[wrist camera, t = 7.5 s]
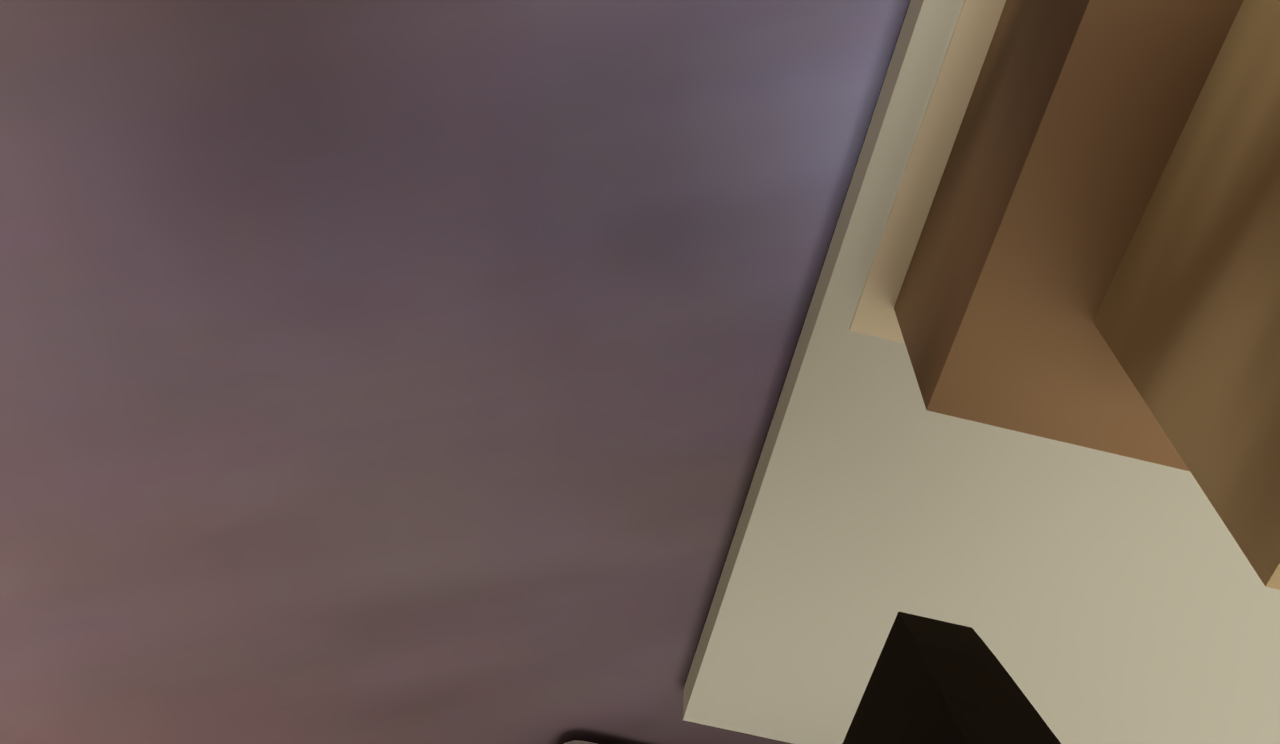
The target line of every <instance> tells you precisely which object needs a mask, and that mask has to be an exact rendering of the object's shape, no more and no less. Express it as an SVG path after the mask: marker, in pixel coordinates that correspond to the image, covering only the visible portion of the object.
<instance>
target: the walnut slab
mask: <svg viewBox="0 0 1280 744" xmlns="http://www.w3.org/2000/svg"><path fill="white" fill-rule="evenodd" d="M1243 1H1244V0H1006V3H1005V5H1004V8H1003V11H1002V14H1001V16H1000V19H999V22H998V25H997V27H996V30H995V33H994V35H993V38H992V41H991V44H990V46H989V49H988V52H987V55H986V57H985V60H984V63H983V66H982V68H981V71H980V74H979V76H978V79H977V82H976V85H975V87H974V90H973V93H972V96H971V98H970V101H969V104H968V106H967V109H966V112H965V115H964V117H963V120H962V123H961V126H960V128H959V131H958V134H957V137H956V139H955V142H954V145H953V147H952V150H951V153H950V156H949V158H948V161H947V164H946V167H945V169H944V172H943V175H942V178H941V180H940V183H939V186H938V188H937V191H936V194H935V197H934V199H933V202H932V205H931V208H930V210H929V213H928V216H927V218H926V221H925V224H924V227H923V229H922V232H921V235H920V238H919V240H918V243H917V246H916V249H915V251H914V254H913V257H912V259H911V262H910V265H909V268H908V270H907V273H906V276H905V279H904V281H903V284H902V287H901V290H900V292H899V295H898V298H897V300H896V303H895V306H894V311H895V314H896V317H897V320H898V323H899V326H900V329H901V332H902V336H903V339H904V342H905V345H906V348H907V351H908V354H909V357H910V360H911V364H912V367H913V370H914V373H915V376H916V379H917V382H918V385H919V388H920V392H921V395H922V398H923V401H924V404H925V407H926V410H927V411H932V412H936V413H940V414H945V415H949V416H953V417H958V418H962V419H966V420H971V421H975V422H979V423H983V424H988V425H992V426H996V427H1001V428H1005V429H1009V430H1014V431H1018V432H1022V433H1027V434H1031V435H1035V436H1040V437H1044V438H1048V439H1052V440H1057V441H1061V442H1065V443H1070V444H1074V445H1078V446H1083V447H1087V448H1091V449H1096V450H1100V451H1104V452H1108V453H1113V454H1117V455H1121V456H1126V457H1130V458H1134V459H1139V460H1143V461H1147V462H1152V463H1156V464H1160V465H1165V466H1169V467H1173V468H1177V469H1182V470H1186V471H1190V470H1189V469H1188V467H1187V466H1186V464H1185V463H1184V461H1183V460H1182V458H1181V457H1180V455H1179V453H1178V452H1177V450H1176V449H1175V447H1174V446H1173V444H1172V443H1171V441H1170V440H1169V438H1168V437H1167V435H1166V434H1165V432H1164V431H1163V429H1162V427H1161V426H1160V424H1159V423H1158V421H1157V420H1156V418H1155V417H1154V415H1153V414H1152V412H1151V411H1150V409H1149V408H1148V406H1147V404H1146V403H1145V401H1144V400H1143V398H1142V397H1141V395H1140V394H1139V392H1138V391H1137V389H1136V388H1135V386H1134V385H1133V383H1132V381H1131V380H1130V378H1129V377H1128V375H1127V374H1126V372H1125V371H1124V369H1123V368H1122V366H1121V365H1120V363H1119V362H1118V360H1117V358H1116V357H1115V355H1114V354H1113V352H1112V351H1111V349H1110V348H1109V346H1108V345H1107V343H1106V342H1105V340H1104V339H1103V337H1102V335H1101V334H1100V332H1099V331H1098V329H1097V328H1096V326H1095V325H1094V323H1093V320H1094V318H1095V316H1096V314H1097V312H1098V310H1099V308H1100V306H1101V303H1102V301H1103V299H1104V297H1105V295H1106V293H1107V291H1108V288H1109V286H1110V284H1111V282H1112V280H1113V278H1114V276H1115V274H1116V271H1117V269H1118V267H1119V265H1120V263H1121V261H1122V259H1123V256H1124V254H1125V252H1126V250H1127V248H1128V246H1129V244H1130V242H1131V239H1132V237H1133V235H1134V233H1135V231H1136V229H1137V227H1138V224H1139V222H1140V220H1141V218H1142V216H1143V214H1144V212H1145V210H1146V207H1147V205H1148V203H1149V201H1150V199H1151V197H1152V195H1153V193H1154V190H1155V188H1156V186H1157V184H1158V182H1159V180H1160V178H1161V175H1162V173H1163V171H1164V169H1165V167H1166V165H1167V163H1168V161H1169V158H1170V156H1171V154H1172V152H1173V150H1174V148H1175V146H1176V143H1177V141H1178V139H1179V137H1180V135H1181V133H1182V131H1183V129H1184V126H1185V124H1186V122H1187V120H1188V118H1189V116H1190V114H1191V111H1192V109H1193V107H1194V105H1195V103H1196V101H1197V99H1198V97H1199V94H1200V92H1201V90H1202V88H1203V86H1204V84H1205V82H1206V80H1207V77H1208V75H1209V73H1210V71H1211V69H1212V67H1213V65H1214V62H1215V60H1216V58H1217V56H1218V54H1219V52H1220V50H1221V48H1222V45H1223V43H1224V41H1225V39H1226V37H1227V35H1228V33H1229V30H1230V28H1231V26H1232V24H1233V22H1234V20H1235V18H1236V16H1237V13H1238V11H1239V9H1240V7H1241V5H1242V3H1243Z"/></svg>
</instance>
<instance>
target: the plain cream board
mask: <svg viewBox="0 0 1280 744" xmlns="http://www.w3.org/2000/svg"><path fill="white" fill-rule="evenodd" d="M1005 3H1006V0H911V1H910V4H909V7H908V10H907V13H906V16H905V19H904V22H903V25H902V28H901V31H900V34H899V37H898V40H897V43H896V46H895V49H894V52H893V55H892V58H891V61H890V64H889V68H888V71H887V74H886V77H885V80H884V83H883V86H882V89H881V92H880V95H879V98H878V101H877V104H876V107H875V110H874V113H873V116H872V119H871V122H870V125H869V128H868V131H867V134H866V137H865V140H864V143H863V146H862V149H861V152H860V155H859V158H858V161H857V165H856V168H855V171H854V174H853V177H852V180H851V183H850V186H849V189H848V192H847V195H846V198H845V201H844V204H843V207H842V210H841V213H840V216H839V219H838V222H837V225H836V228H835V231H834V234H833V237H832V240H831V243H830V246H829V249H828V252H827V255H826V259H825V262H824V265H823V268H822V271H821V274H820V277H819V280H818V283H817V286H816V289H815V292H814V295H813V298H812V301H811V304H810V307H809V310H808V313H807V316H806V319H805V322H804V325H803V328H802V331H801V334H800V337H799V340H798V343H797V346H796V349H795V352H794V356H793V359H792V362H791V365H790V368H789V371H788V374H787V377H786V380H785V383H784V386H783V389H782V392H781V395H780V398H779V401H778V404H777V407H776V410H775V413H774V416H773V419H772V422H771V425H770V428H769V431H768V434H767V437H766V440H765V443H764V446H763V450H762V453H761V456H760V459H759V462H758V465H757V468H756V471H755V474H754V477H753V480H752V483H751V486H750V489H749V492H748V495H747V498H746V501H745V504H744V507H743V510H742V513H741V516H740V519H739V522H738V525H737V528H736V531H735V534H734V537H733V540H732V543H731V547H730V550H729V553H728V556H727V559H726V562H725V565H724V568H723V571H722V574H721V577H720V580H719V583H718V586H717V589H716V592H715V595H714V598H713V601H712V604H711V607H710V610H709V613H708V616H707V619H706V622H705V625H704V628H703V631H702V634H701V637H700V641H699V644H698V647H697V650H696V653H695V656H694V659H693V662H692V665H691V668H690V671H689V674H688V677H687V680H686V683H685V686H684V693H683V720H685V721H689V722H694V723H699V724H703V725H708V726H713V727H717V728H722V729H727V730H732V731H736V732H741V733H746V734H750V735H755V736H760V737H764V738H769V739H774V740H779V741H783V742H788V743H793V744H843V741H844V739H845V737H846V734H847V732H848V729H849V727H850V725H851V722H852V720H853V718H854V715H855V713H856V711H857V708H858V706H859V703H860V701H861V699H862V696H863V694H864V692H865V689H866V687H867V685H868V682H869V680H870V677H871V675H872V673H873V670H874V668H875V666H876V663H877V661H878V659H879V656H880V654H881V651H882V649H883V647H884V644H885V642H886V640H887V637H888V635H889V633H890V630H891V628H892V625H893V623H894V621H895V618H896V616H897V614H898V611H899V612H904V613H908V614H913V615H917V616H922V617H926V618H931V619H935V620H940V621H944V622H949V623H953V624H958V625H962V626H967V627H972V628H973V629H974V631H975V632H976V633H977V634H978V635H979V637H980V638H981V639H982V640H983V641H984V643H985V644H986V645H987V646H988V648H989V649H990V650H991V651H992V653H993V654H994V655H995V657H996V658H997V659H998V660H999V662H1000V663H1001V664H1002V666H1003V667H1004V668H1005V670H1006V671H1007V672H1008V674H1009V675H1010V676H1011V677H1012V679H1013V680H1014V681H1015V683H1016V684H1017V685H1018V687H1019V688H1020V689H1021V691H1022V692H1023V693H1024V695H1025V696H1026V697H1027V699H1028V700H1029V701H1030V703H1031V704H1032V705H1033V707H1034V708H1035V709H1036V711H1037V712H1038V713H1039V715H1040V716H1041V717H1042V719H1043V720H1044V721H1045V723H1046V724H1047V725H1048V727H1049V728H1050V729H1051V731H1052V732H1053V733H1054V735H1055V736H1056V737H1057V739H1058V740H1059V741H1060V743H1061V744H1280V590H1278V589H1274V588H1270V587H1265V585H1264V584H1263V582H1262V581H1261V579H1260V578H1259V576H1258V575H1257V573H1256V572H1255V570H1254V568H1253V567H1252V565H1251V564H1250V562H1249V561H1248V559H1247V558H1246V556H1245V555H1244V553H1243V552H1242V550H1241V549H1240V547H1239V545H1238V544H1237V542H1236V541H1235V539H1234V538H1233V536H1232V535H1231V533H1230V532H1229V530H1228V529H1227V527H1226V526H1225V524H1224V522H1223V521H1222V519H1221V518H1220V516H1219V515H1218V513H1217V512H1216V510H1215V509H1214V507H1213V506H1212V504H1211V503H1210V501H1209V499H1208V498H1207V496H1206V495H1205V493H1204V492H1203V490H1202V489H1201V487H1200V486H1199V484H1198V483H1197V481H1196V480H1195V478H1194V476H1193V475H1192V473H1191V472H1190V471H1186V470H1182V469H1177V468H1173V467H1169V466H1165V465H1160V464H1156V463H1152V462H1147V461H1143V460H1139V459H1134V458H1130V457H1126V456H1121V455H1117V454H1113V453H1108V452H1104V451H1100V450H1096V449H1091V448H1087V447H1083V446H1078V445H1074V444H1070V443H1065V442H1061V441H1057V440H1052V439H1048V438H1044V437H1040V436H1035V435H1031V434H1027V433H1022V432H1018V431H1014V430H1009V429H1005V428H1001V427H996V426H992V425H988V424H983V423H979V422H975V421H971V420H966V419H962V418H958V417H953V416H949V415H945V414H940V413H936V412H932V411H927V410H926V407H925V404H924V401H923V398H922V395H921V392H920V388H919V385H918V382H917V379H916V376H915V373H914V370H913V367H912V364H911V360H910V357H909V354H908V351H907V348H906V345H905V342H904V339H903V336H902V332H901V329H900V326H899V323H898V320H897V317H896V314H895V311H894V306H895V303H896V300H897V298H898V295H899V292H900V290H901V287H902V284H903V281H904V279H905V276H906V273H907V270H908V268H909V265H910V262H911V259H912V257H913V254H914V251H915V249H916V246H917V243H918V240H919V238H920V235H921V232H922V229H923V227H924V224H925V221H926V218H927V216H928V213H929V210H930V208H931V205H932V202H933V199H934V197H935V194H936V191H937V188H938V186H939V183H940V180H941V178H942V175H943V172H944V169H945V167H946V164H947V161H948V158H949V156H950V153H951V150H952V147H953V145H954V142H955V139H956V137H957V134H958V131H959V128H960V126H961V123H962V120H963V117H964V115H965V112H966V109H967V106H968V104H969V101H970V98H971V96H972V93H973V90H974V87H975V85H976V82H977V79H978V76H979V74H980V71H981V68H982V66H983V63H984V60H985V57H986V55H987V52H988V49H989V46H990V44H991V41H992V38H993V35H994V33H995V30H996V27H997V25H998V22H999V19H1000V16H1001V14H1002V11H1003V8H1004V5H1005Z"/></svg>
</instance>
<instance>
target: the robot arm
mask: <svg viewBox="0 0 1280 744" xmlns="http://www.w3.org/2000/svg"><path fill="white" fill-rule="evenodd" d="M564 744H597V743H592V742H587V741H576V740H574V741H570V742H566V743H564ZM843 744H1061V743H1060V741H1059V740H1058V739H1057V737H1056V736H1055V735H1054V733H1053V732H1052V731H1051V729H1050V728H1049V727H1048V725H1047V724H1046V723H1045V721H1044V720H1043V719H1042V717H1041V716H1040V715H1039V713H1038V712H1037V711H1036V709H1035V708H1034V707H1033V705H1032V704H1031V703H1030V701H1029V700H1028V699H1027V697H1026V696H1025V695H1024V693H1023V692H1022V691H1021V689H1020V688H1019V687H1018V685H1017V684H1016V683H1015V681H1014V680H1013V679H1012V677H1011V676H1010V675H1009V674H1008V672H1007V671H1006V670H1005V668H1004V667H1003V666H1002V664H1001V663H1000V662H999V660H998V659H997V658H996V657H995V655H994V654H993V653H992V651H991V650H990V649H989V648H988V646H987V645H986V644H985V643H984V641H983V640H982V639H981V638H980V637H979V635H978V634H977V633H976V632H975V631H974V629H973V628H972V627H967V626H962V625H958V624H953V623H949V622H944V621H940V620H935V619H931V618H926V617H922V616H917V615H913V614H908V613H904V612H899V611H898V614H897V616H896V618H895V621H894V623H893V625H892V628H891V630H890V633H889V635H888V637H887V640H886V642H885V644H884V647H883V649H882V651H881V654H880V656H879V659H878V661H877V663H876V666H875V668H874V670H873V673H872V675H871V677H870V680H869V682H868V685H867V687H866V689H865V692H864V694H863V696H862V699H861V701H860V703H859V706H858V708H857V711H856V713H855V715H854V718H853V720H852V722H851V725H850V727H849V729H848V732H847V734H846V737H845V739H844V741H843Z"/></svg>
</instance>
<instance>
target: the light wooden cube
mask: <svg viewBox="0 0 1280 744" xmlns="http://www.w3.org/2000/svg"><path fill="white" fill-rule="evenodd" d="M1093 323H1094V325H1095V326H1096V328H1097V329H1098V331H1099V332H1100V334H1101V335H1102V337H1103V339H1104V340H1105V342H1106V343H1107V345H1108V346H1109V348H1110V349H1111V351H1112V352H1113V354H1114V355H1115V357H1116V358H1117V360H1118V362H1119V363H1120V365H1121V366H1122V368H1123V369H1124V371H1125V372H1126V374H1127V375H1128V377H1129V378H1130V380H1131V381H1132V383H1133V385H1134V386H1135V388H1136V389H1137V391H1138V392H1139V394H1140V395H1141V397H1142V398H1143V400H1144V401H1145V403H1146V404H1147V406H1148V408H1149V409H1150V411H1151V412H1152V414H1153V415H1154V417H1155V418H1156V420H1157V421H1158V423H1159V424H1160V426H1161V427H1162V429H1163V431H1164V432H1165V434H1166V435H1167V437H1168V438H1169V440H1170V441H1171V443H1172V444H1173V446H1174V447H1175V449H1176V450H1177V452H1178V453H1179V455H1180V457H1181V458H1182V460H1183V461H1184V463H1185V464H1186V466H1187V467H1188V469H1189V470H1190V472H1191V473H1192V475H1193V476H1194V478H1195V480H1196V481H1197V483H1198V484H1199V486H1200V487H1201V489H1202V490H1203V492H1204V493H1205V495H1206V496H1207V498H1208V499H1209V501H1210V503H1211V504H1212V506H1213V507H1214V509H1215V510H1216V512H1217V513H1218V515H1219V516H1220V518H1221V519H1222V521H1223V522H1224V524H1225V526H1226V527H1227V529H1228V530H1229V532H1230V533H1231V535H1232V536H1233V538H1234V539H1235V541H1236V542H1237V544H1238V545H1239V547H1240V549H1241V550H1242V552H1243V553H1244V555H1245V556H1246V558H1247V559H1248V561H1249V562H1250V564H1251V565H1252V567H1253V568H1254V570H1255V572H1256V573H1257V575H1258V576H1259V578H1260V579H1261V581H1262V582H1263V584H1264V585H1265V587H1270V588H1274V589H1278V590H1280V0H1244V1H1243V3H1242V5H1241V7H1240V9H1239V11H1238V13H1237V16H1236V18H1235V20H1234V22H1233V24H1232V26H1231V28H1230V30H1229V33H1228V35H1227V37H1226V39H1225V41H1224V43H1223V45H1222V48H1221V50H1220V52H1219V54H1218V56H1217V58H1216V60H1215V62H1214V65H1213V67H1212V69H1211V71H1210V73H1209V75H1208V77H1207V80H1206V82H1205V84H1204V86H1203V88H1202V90H1201V92H1200V94H1199V97H1198V99H1197V101H1196V103H1195V105H1194V107H1193V109H1192V111H1191V114H1190V116H1189V118H1188V120H1187V122H1186V124H1185V126H1184V129H1183V131H1182V133H1181V135H1180V137H1179V139H1178V141H1177V143H1176V146H1175V148H1174V150H1173V152H1172V154H1171V156H1170V158H1169V161H1168V163H1167V165H1166V167H1165V169H1164V171H1163V173H1162V175H1161V178H1160V180H1159V182H1158V184H1157V186H1156V188H1155V190H1154V193H1153V195H1152V197H1151V199H1150V201H1149V203H1148V205H1147V207H1146V210H1145V212H1144V214H1143V216H1142V218H1141V220H1140V222H1139V224H1138V227H1137V229H1136V231H1135V233H1134V235H1133V237H1132V239H1131V242H1130V244H1129V246H1128V248H1127V250H1126V252H1125V254H1124V256H1123V259H1122V261H1121V263H1120V265H1119V267H1118V269H1117V271H1116V274H1115V276H1114V278H1113V280H1112V282H1111V284H1110V286H1109V288H1108V291H1107V293H1106V295H1105V297H1104V299H1103V301H1102V303H1101V306H1100V308H1099V310H1098V312H1097V314H1096V316H1095V318H1094V320H1093Z"/></svg>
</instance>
